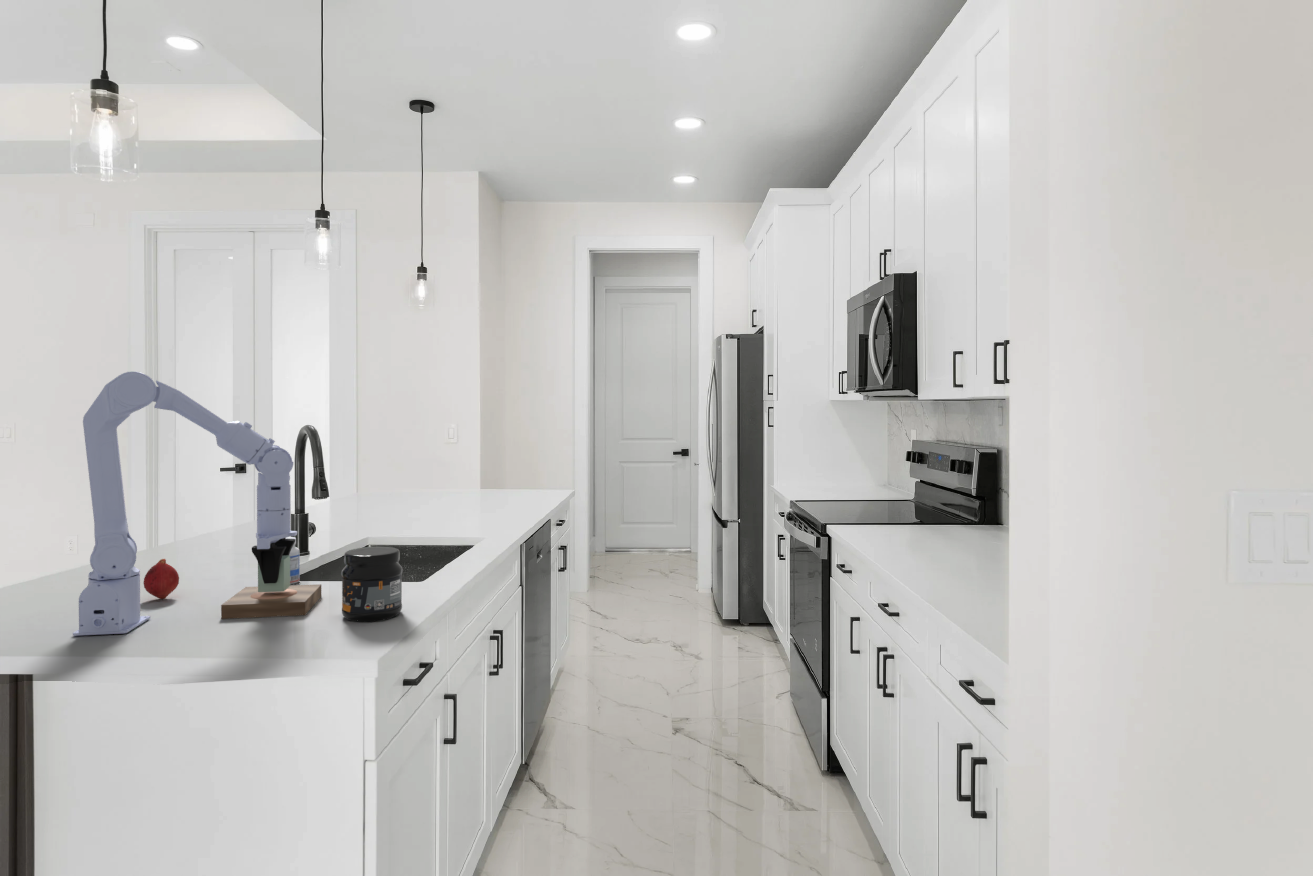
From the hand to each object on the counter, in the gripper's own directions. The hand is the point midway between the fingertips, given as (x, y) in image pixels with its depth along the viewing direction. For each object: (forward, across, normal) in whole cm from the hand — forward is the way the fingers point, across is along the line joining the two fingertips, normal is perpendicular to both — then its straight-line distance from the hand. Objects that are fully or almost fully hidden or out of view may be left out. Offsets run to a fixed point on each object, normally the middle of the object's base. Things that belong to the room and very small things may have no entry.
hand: (274, 580), depth 143 cm
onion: (+5, +10, +23) cm, 26 cm away
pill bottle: (+5, +21, +3) cm, 22 cm away
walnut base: (+5, 0, 0) cm, 5 cm away
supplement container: (+5, -9, -19) cm, 22 cm away
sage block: (+2, 0, 0) cm, 2 cm away
